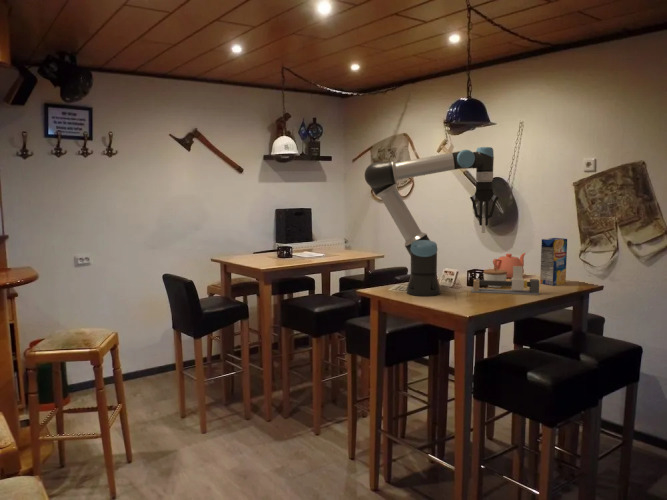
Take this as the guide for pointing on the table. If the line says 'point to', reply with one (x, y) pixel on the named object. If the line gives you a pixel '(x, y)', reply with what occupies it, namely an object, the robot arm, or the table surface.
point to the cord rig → (532, 284)
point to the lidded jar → (495, 275)
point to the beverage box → (553, 261)
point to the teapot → (509, 263)
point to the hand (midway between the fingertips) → (483, 232)
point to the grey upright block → (517, 278)
